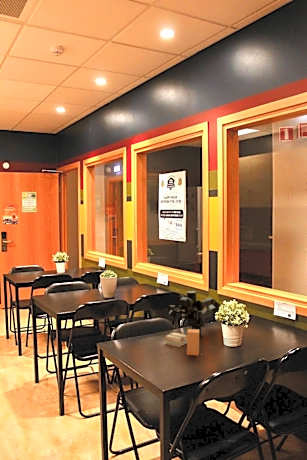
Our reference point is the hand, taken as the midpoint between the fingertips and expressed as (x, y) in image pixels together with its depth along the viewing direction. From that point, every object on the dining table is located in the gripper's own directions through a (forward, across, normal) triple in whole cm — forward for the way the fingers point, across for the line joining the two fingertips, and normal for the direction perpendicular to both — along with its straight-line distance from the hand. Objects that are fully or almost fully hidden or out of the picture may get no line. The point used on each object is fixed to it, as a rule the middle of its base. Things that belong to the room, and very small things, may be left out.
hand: (175, 316), depth 234 cm
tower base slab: (-4, -2, +17) cm, 18 cm away
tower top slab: (-4, -2, +15) cm, 15 cm away
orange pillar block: (+6, +14, +16) cm, 22 cm away
